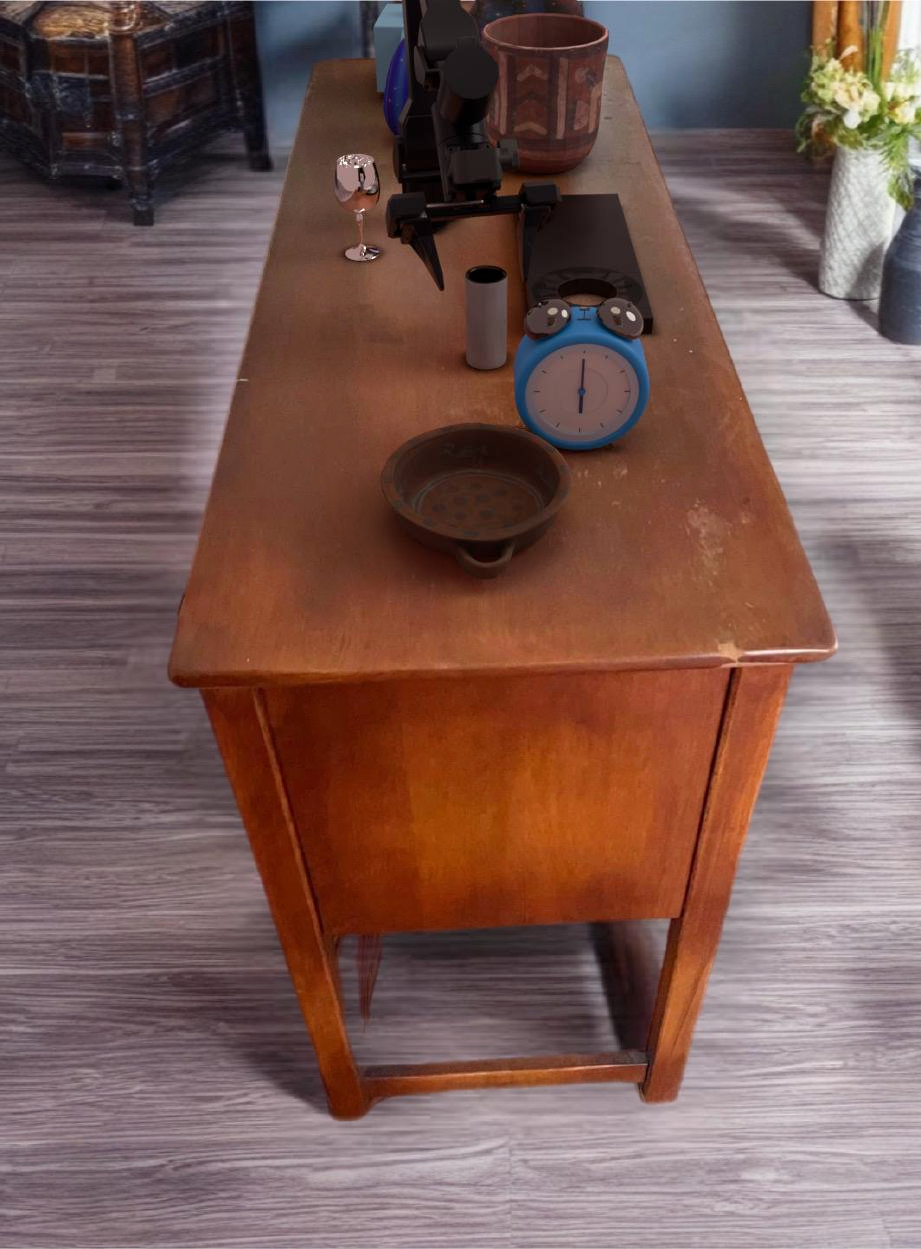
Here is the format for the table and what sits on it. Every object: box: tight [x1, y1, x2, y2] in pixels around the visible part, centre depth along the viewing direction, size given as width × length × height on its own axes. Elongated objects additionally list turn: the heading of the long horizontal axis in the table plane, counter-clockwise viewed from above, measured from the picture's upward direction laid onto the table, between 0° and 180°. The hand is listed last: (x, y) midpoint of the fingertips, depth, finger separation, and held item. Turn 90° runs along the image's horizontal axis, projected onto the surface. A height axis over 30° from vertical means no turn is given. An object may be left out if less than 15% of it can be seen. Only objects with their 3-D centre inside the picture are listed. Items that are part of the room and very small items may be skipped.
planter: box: [464, 264, 508, 371], centre depth 130 cm, size 4×4×10 cm
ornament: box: [382, 39, 408, 137], centre depth 180 cm, size 11×9×15 cm
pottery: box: [482, 13, 610, 175], centre depth 172 cm, size 18×18×18 cm
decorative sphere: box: [468, 0, 585, 41], centre depth 188 cm, size 19×20×20 cm
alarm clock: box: [513, 298, 651, 451], centre depth 117 cm, size 13×6×15 cm, turn 89°
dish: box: [379, 422, 572, 580], centre depth 110 cm, size 18×22×5 cm
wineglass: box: [333, 153, 381, 262], centre depth 151 cm, size 6×6×12 cm
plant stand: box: [516, 193, 654, 334], centre depth 150 cm, size 36×14×2 cm, turn 1°
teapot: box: [373, 3, 404, 93], centre depth 199 cm, size 22×11×14 cm, turn 173°
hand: (484, 285), depth 129 cm, fingers open, 9 cm apart
